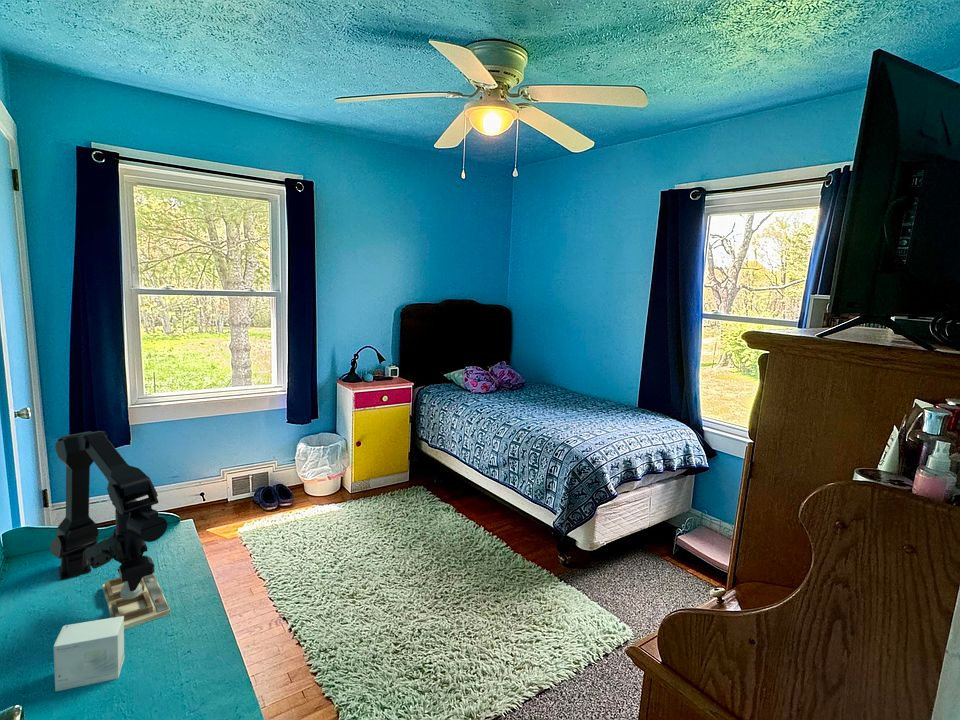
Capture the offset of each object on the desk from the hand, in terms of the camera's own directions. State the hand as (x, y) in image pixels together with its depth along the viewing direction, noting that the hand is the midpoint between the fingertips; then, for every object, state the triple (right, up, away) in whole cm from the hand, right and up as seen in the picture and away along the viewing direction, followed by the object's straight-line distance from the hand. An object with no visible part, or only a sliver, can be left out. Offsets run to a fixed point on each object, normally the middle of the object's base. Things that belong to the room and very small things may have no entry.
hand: (131, 586), depth 120 cm
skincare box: (+4, -11, -17) cm, 20 cm away
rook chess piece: (0, -2, 0) cm, 2 cm away
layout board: (-3, -6, +6) cm, 9 cm away
